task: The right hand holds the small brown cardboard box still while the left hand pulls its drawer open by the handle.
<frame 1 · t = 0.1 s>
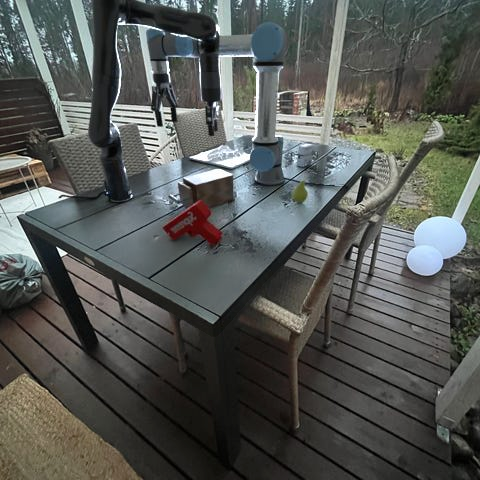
left hand: (213, 133, 107), 29 cm above the table, tool pointing down, fingers open, 8 cm apart
right hand: (167, 124, 132), 28 cm above the table, tool pointing down, fingers open, 13 cm apart
fruit: (299, 202, 122), on the table
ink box: (303, 165, 167), on the table
toy gun: (193, 240, 95), on the table
relief map: (223, 158, 179), on the table
drawer: (196, 192, 116), point 6 cm above the table, slide at 1.7 cm
brown cardboard box: (210, 201, 123), on the table
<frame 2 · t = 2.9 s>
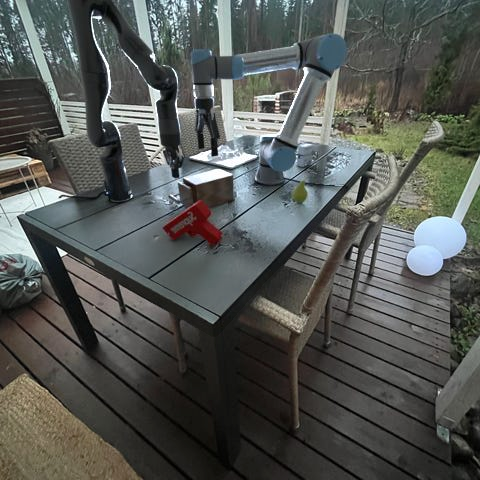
left hand: (176, 177, 107), 15 cm above the table, tool pointing down, fingers closed
right hand: (207, 152, 118), 20 cm above the table, tool pointing down, fingers open, 13 cm apart
nothing on the table moved.
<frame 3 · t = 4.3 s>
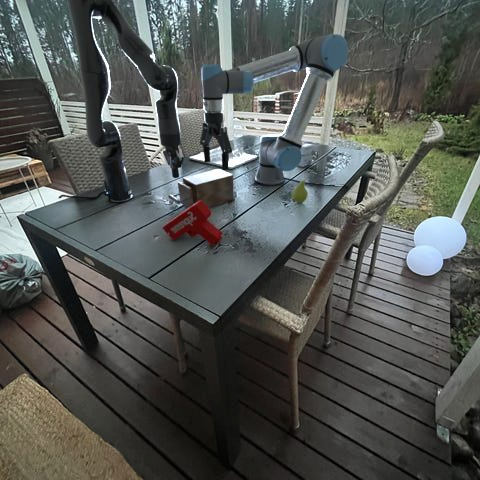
left hand: (176, 177, 107), 15 cm above the table, tool pointing down, fingers closed
right hand: (216, 165, 117), 15 cm above the table, tool pointing down, fingers open, 13 cm apart
nothing on the table moved.
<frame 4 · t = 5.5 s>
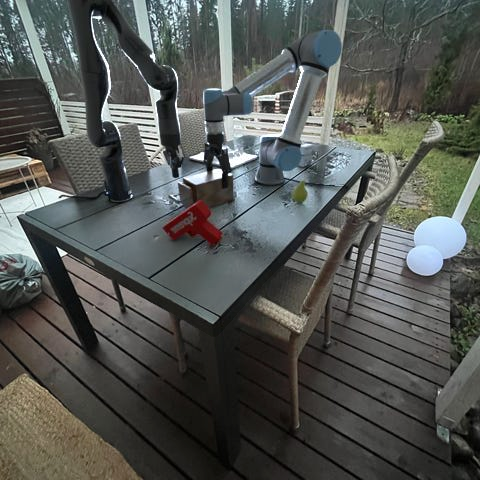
left hand: (176, 177, 107), 15 cm above the table, tool pointing down, fingers closed
right hand: (217, 184, 122), 7 cm above the table, tool pointing down, fingers closed on brown cardboard box, 11 cm apart
brown cardboard box: (210, 201, 123), on the table, touching right hand
everything else where it was.
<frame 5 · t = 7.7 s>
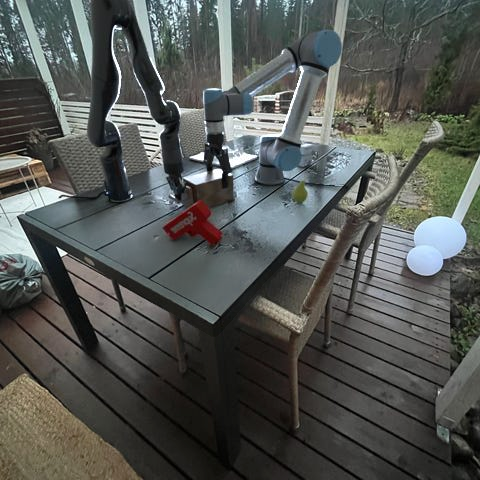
left hand: (178, 201, 113), 4 cm above the table, tool pointing down, fingers closed
right hand: (217, 184, 122), 7 cm above the table, tool pointing down, fingers closed on brown cardboard box, 11 cm apart
drawer: (196, 192, 116), point 6 cm above the table, slide at 1.7 cm, touching left hand
brown cardboard box: (210, 201, 123), on the table, touching right hand
everything else where it was.
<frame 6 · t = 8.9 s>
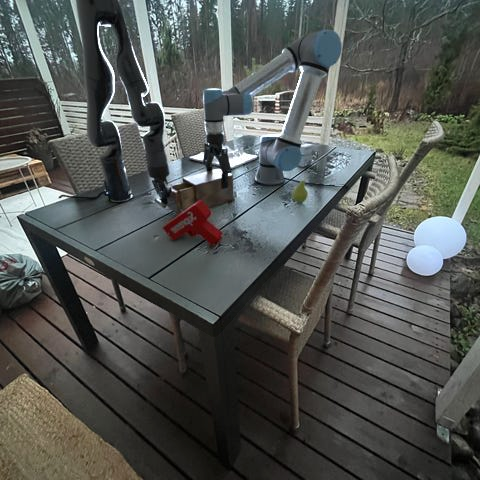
left hand: (165, 205, 109), 4 cm above the table, tool pointing down, fingers closed
right hand: (217, 184, 122), 7 cm above the table, tool pointing down, fingers closed on brown cardboard box, 11 cm apart
drawer: (184, 196, 113), point 6 cm above the table, slide at 7.6 cm, touching left hand
brown cardboard box: (209, 201, 123), on the table, touching right hand
everything else where it was.
when the right hand's fingers open (7 cm above the table, at t = 10.6 s): brown cardboard box stays where it is, on the table.
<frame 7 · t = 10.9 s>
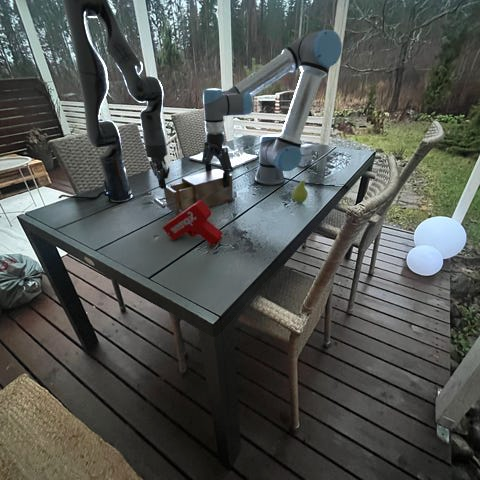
left hand: (162, 188, 106), 12 cm above the table, tool pointing down, fingers closed
right hand: (217, 182, 121), 8 cm above the table, tool pointing down, fingers open, 13 cm apart
drawer: (183, 196, 113), point 6 cm above the table, slide at 7.7 cm
brown cardboard box: (209, 201, 123), on the table
everything else where it was.
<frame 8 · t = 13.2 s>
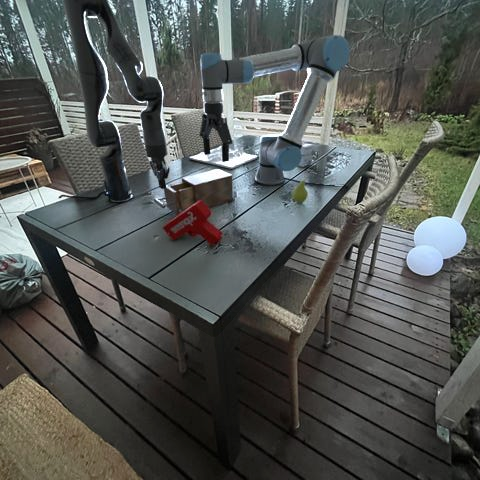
left hand: (162, 188, 106), 12 cm above the table, tool pointing down, fingers closed
right hand: (216, 157, 115), 19 cm above the table, tool pointing down, fingers open, 13 cm apart
nothing on the table moved.
at the end: drawer slide at 7.7 cm; brown cardboard box tilted 0°; brown cardboard box never tilted more than 2° during the clip; brown cardboard box moved 0.5 cm from its start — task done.
